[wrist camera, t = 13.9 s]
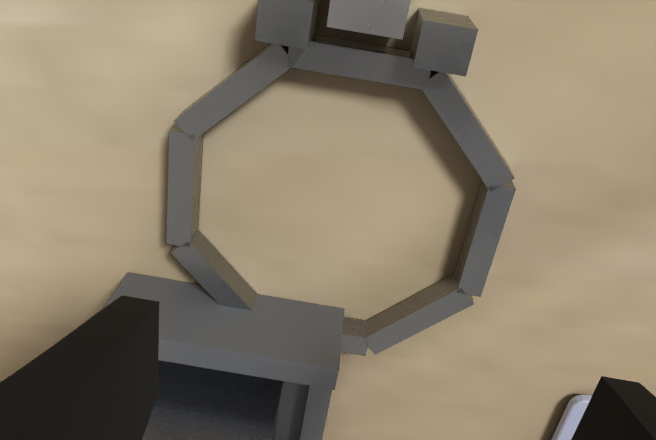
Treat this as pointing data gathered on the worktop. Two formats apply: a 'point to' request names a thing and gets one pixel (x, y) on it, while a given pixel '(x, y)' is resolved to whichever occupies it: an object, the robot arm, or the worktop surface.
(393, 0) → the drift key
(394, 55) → the socket
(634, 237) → the worktop surface
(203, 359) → the rack
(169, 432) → the gold-capped square jar
